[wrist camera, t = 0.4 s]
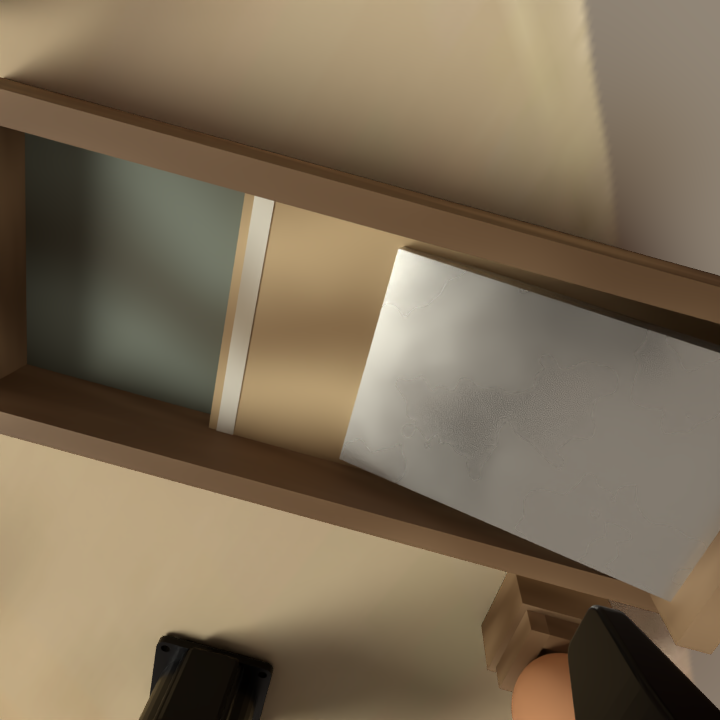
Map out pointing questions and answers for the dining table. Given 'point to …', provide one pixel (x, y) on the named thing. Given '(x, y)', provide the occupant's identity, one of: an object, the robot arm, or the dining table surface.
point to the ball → (544, 690)
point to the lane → (265, 322)
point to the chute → (544, 418)
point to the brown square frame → (530, 624)
